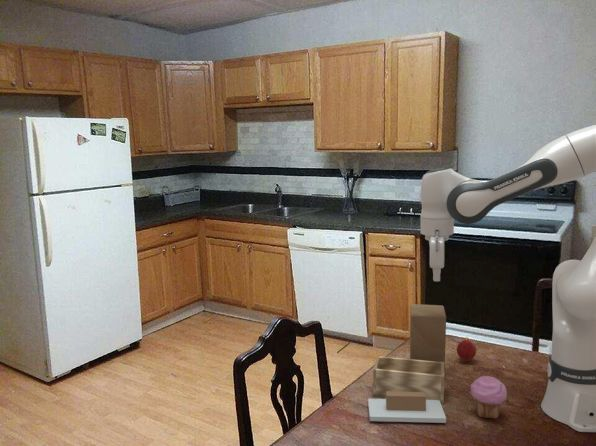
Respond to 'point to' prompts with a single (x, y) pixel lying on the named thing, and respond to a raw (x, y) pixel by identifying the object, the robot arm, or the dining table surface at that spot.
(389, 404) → the lid
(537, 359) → the dining table surface
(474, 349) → the onion
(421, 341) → the wooden block
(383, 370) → the light wooden open box
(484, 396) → the cupcake
